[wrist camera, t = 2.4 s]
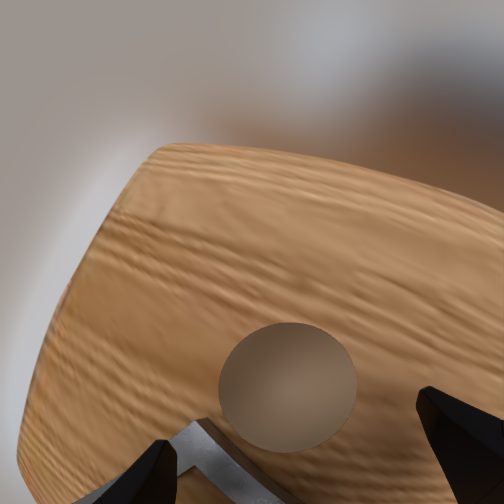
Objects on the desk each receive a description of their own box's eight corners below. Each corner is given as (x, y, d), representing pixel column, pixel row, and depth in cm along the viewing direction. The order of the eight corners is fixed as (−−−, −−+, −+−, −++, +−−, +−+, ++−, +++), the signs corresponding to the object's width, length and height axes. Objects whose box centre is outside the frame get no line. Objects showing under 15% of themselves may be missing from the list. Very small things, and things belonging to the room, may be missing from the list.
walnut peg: (337, 387, 16) (383, 379, 7) (290, 433, 15) (286, 477, 6) (290, 346, 18) (286, 297, 9) (244, 390, 17) (192, 385, 8)
